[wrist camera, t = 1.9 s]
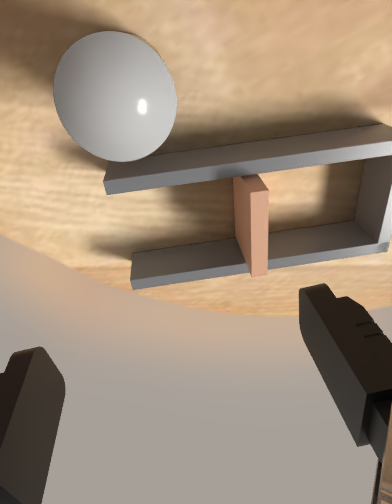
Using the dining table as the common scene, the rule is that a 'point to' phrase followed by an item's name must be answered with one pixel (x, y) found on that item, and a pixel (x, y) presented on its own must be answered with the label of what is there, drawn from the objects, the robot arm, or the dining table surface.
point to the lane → (255, 162)
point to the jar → (115, 96)
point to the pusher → (252, 221)
